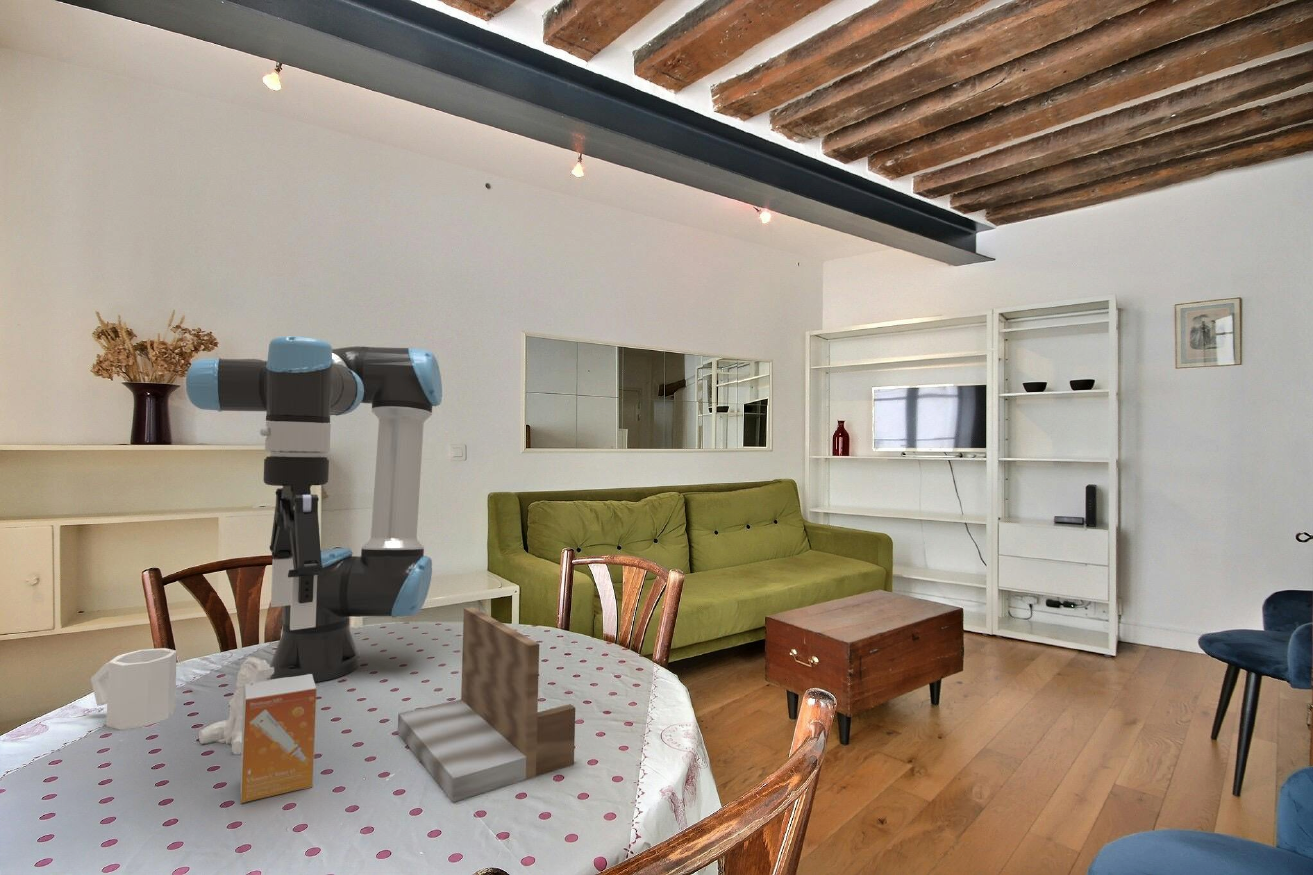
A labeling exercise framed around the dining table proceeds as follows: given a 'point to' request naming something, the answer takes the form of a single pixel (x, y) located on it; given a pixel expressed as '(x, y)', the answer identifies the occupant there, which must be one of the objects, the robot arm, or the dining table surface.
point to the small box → (277, 736)
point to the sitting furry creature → (237, 706)
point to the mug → (137, 688)
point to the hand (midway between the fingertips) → (291, 616)
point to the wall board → (491, 717)
